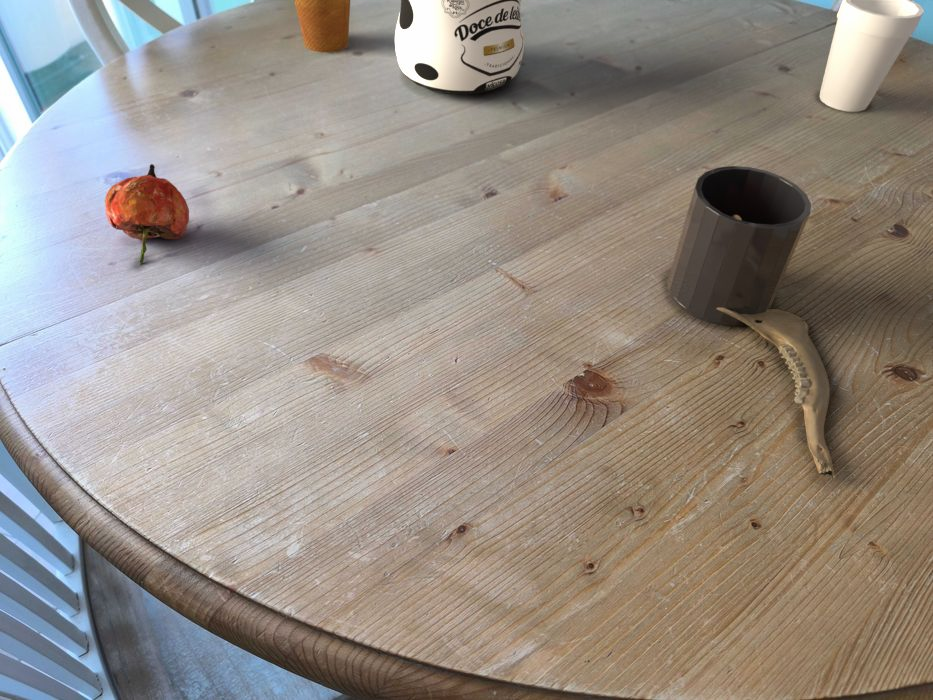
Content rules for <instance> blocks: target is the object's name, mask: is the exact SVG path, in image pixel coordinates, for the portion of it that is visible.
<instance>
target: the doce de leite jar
mask: <svg viewBox="0 0 933 700" xmlns="http://www.w3.org/2000/svg"><path fill="white" fill-rule="evenodd" d="M521 4H522V0H400V9H399V14H398V17H397V21H396V26H395V32H394V47H395V48H394V50H395V55H396V59H397V63H398V64H397V65H398V66H399V68H400V70H401V72H402V74H403V76H405V77H406V78H407V79H408V80H410V82H411V81H412V83H414V84H415V85H417V86H419V87H422V88H425V89H427V90H430V91H433V92H437V93H443V94H449V95H475V94H481V93H482V94H483V93H488V92H491V91H494V90H495V89H496V90H497V89H499V88H503V87H504V86H505V85H507V84H508V83H510V82H511V81H512V80H513V79H514V78H515V77H516V76H517V74H518V73H519V70H520V67H521V64H522V60H523V56H524V51H525V31H524V26H523V21H522V13H521V11H522V9H521Z"/></svg>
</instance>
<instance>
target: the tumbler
mask: <svg viewBox="0 0 933 700" xmlns="http://www.w3.org/2000/svg"><path fill="white" fill-rule="evenodd" d="M811 211H812V203H811V200H810V199H809V197H808V194H807V193H806V192H805V191H804V190H803V189H802V188H801V187H799V186H798V185H797V184H796V183H794V182H793V181H791V180H789V179H787V178H785V177H784V176H782V175H779V174H776V173H774V172H771V171H770V170H769V171H768V170H766V169H765V170H764V169H760V168H756V167H751V166H740V165H729V166H720V167H719V166H718V167H715V168H713V169H710V170H707V171H705V172H704V173H702V175H700V176H699V177H697V179H696V182H695V185H694V189H693V193H692V195H691V199H690V203H689V206H688V209H687V213H686V217H685V219H684V224H683V227H682V230H681V233H680V237H679V241H678V243H677V247H676V251H675V255H674V258H673V262H672V265H671V268H670V272H669V276H668V278H667V291H668V294H669V296H670V298H671V299H672V301H673V302H674V303H675V305H677V307H679V308H680V309H681V310H682V311H684V312H685V313H686V314H688V315H690V316H692V317H693V318H695V319H697V320H700V321H703V322H705V323H708V324H712V325H717V326H723V327H744V326H748V325H747V324H745V323H744V322H742V321H740V320H738V319H736V318H734V317H732V316H731V315H728V314H726V313H724V312H722V311H719V310H717V309H716V308H726V309H728V310H731V311H735V312H737V313H739V314H758V313H763V312H766V311H767V309H771V307H772V304H773V302H774V300H775V298H776V295H777V293H778V290H779V288H780V286H781V283H782V281H783V278H784V277H785V274H786V271H787V269H788V267H789V264H790V262H791V260H792V257H793V255H794V253H795V250H796V248H797V246H798V243H799V242H800V239H801V236H802V234H803V232H804V230H805V226H806V225H807V222H808V220H809V218H810V215H811ZM733 215H738V216H740V217H741V220H738V219H736V218H733V217H732V216H733Z"/></svg>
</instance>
